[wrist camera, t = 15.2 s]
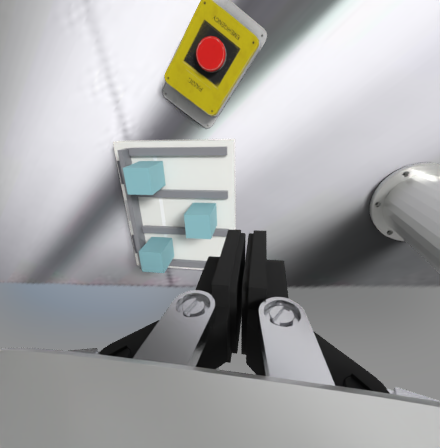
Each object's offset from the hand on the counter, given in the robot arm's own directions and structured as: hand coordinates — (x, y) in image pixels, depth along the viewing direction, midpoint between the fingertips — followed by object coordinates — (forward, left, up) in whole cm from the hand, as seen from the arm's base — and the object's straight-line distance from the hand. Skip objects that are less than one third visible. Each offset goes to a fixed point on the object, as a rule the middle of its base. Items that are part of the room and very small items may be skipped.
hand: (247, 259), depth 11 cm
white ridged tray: (+14, +10, -32) cm, 36 cm away
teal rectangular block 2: (+18, +17, -30) cm, 38 cm away
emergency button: (+7, -12, -33) cm, 36 cm away
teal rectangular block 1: (+18, +3, -30) cm, 35 cm away
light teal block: (+9, +10, -30) cm, 33 cm away
